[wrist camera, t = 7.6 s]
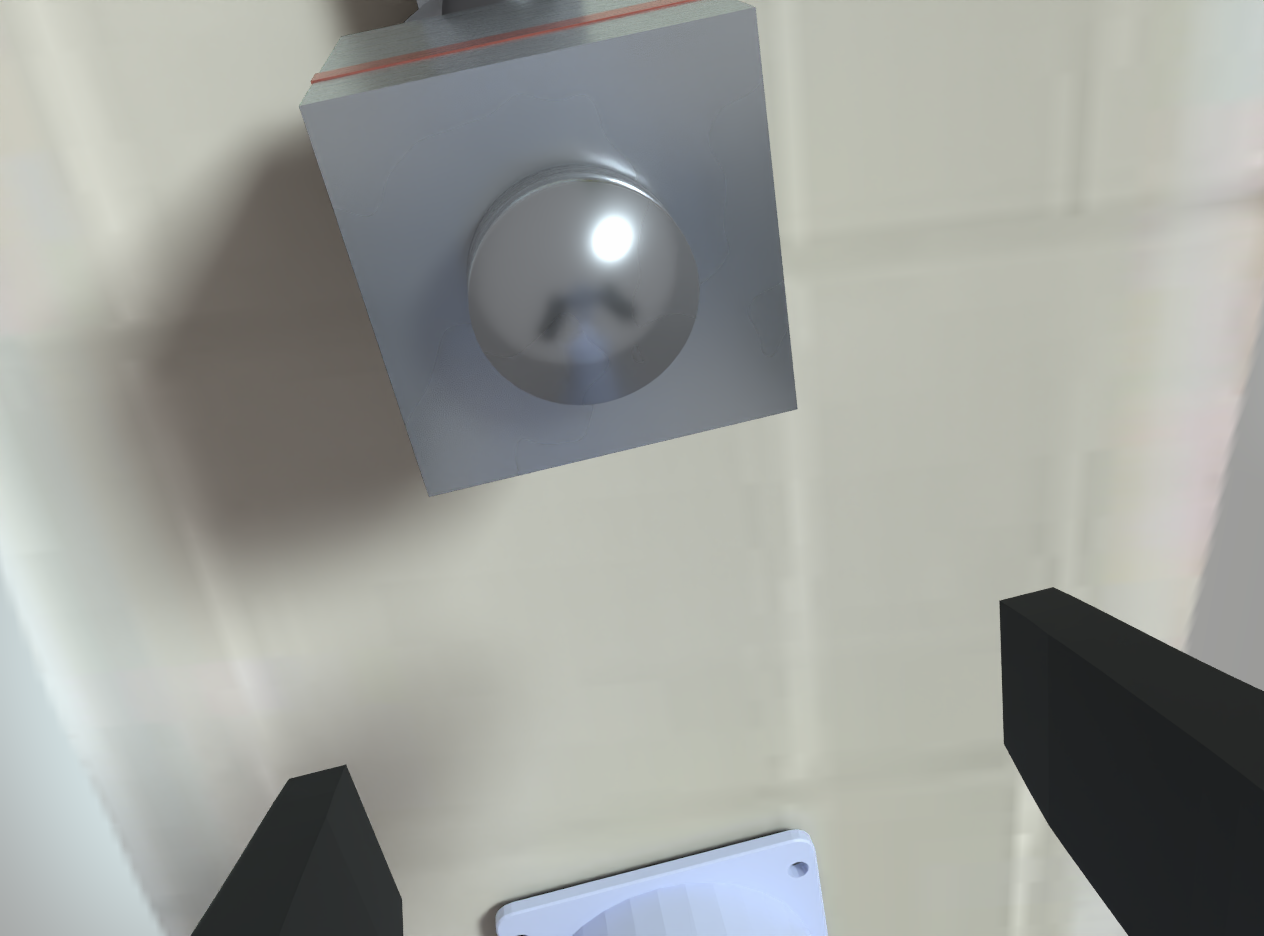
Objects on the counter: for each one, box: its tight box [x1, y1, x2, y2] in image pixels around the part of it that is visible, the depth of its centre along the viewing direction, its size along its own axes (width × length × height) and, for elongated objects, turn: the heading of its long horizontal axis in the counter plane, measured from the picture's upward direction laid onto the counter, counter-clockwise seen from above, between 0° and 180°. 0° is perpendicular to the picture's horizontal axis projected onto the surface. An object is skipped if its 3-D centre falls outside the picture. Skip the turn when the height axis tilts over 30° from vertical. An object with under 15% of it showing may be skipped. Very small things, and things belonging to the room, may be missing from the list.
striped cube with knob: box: [299, 0, 797, 497], centre depth 13 cm, size 5×5×6 cm
